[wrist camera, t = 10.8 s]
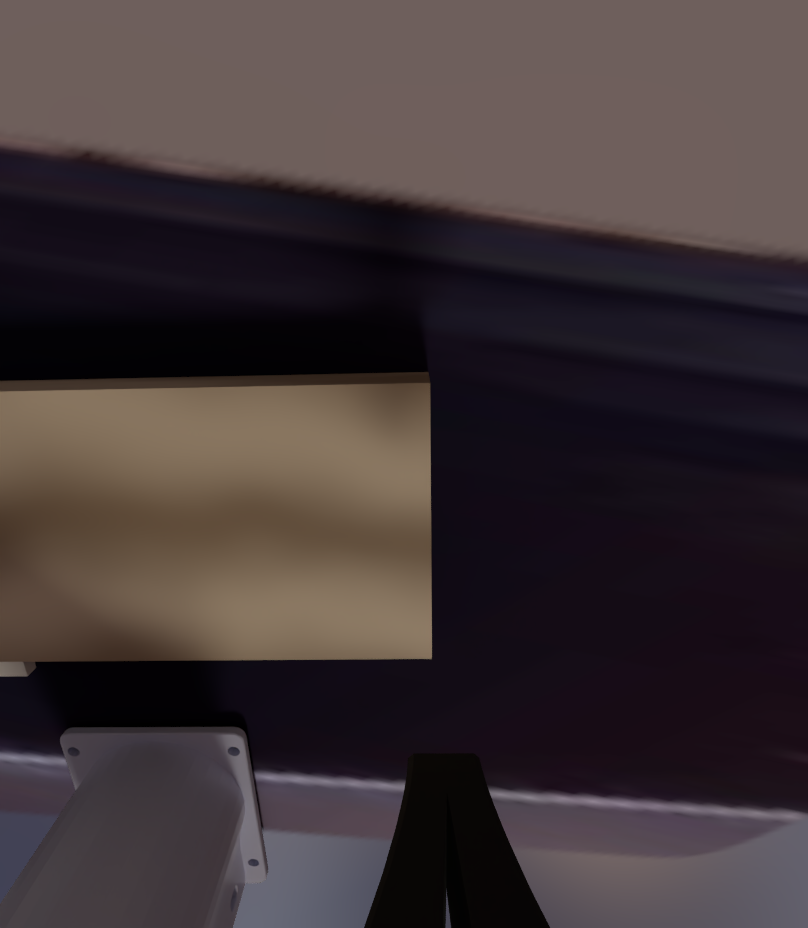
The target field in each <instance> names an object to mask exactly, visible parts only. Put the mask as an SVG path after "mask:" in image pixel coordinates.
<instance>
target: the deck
mask: <svg viewBox="0 0 808 928" xmlns="http://www.w3.org/2000/svg"><path fill="white" fill-rule="evenodd" d="M323 659H432V601H431V445H430V379H429V374H428V372H407V373H359V374H310V375H262V376H214V377H165V378H117V379H69V380H21V381H0V662H49V661H186V660H323Z"/></svg>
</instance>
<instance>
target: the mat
mask: <svg viewBox="0 0 808 928" xmlns="http://www.w3.org/2000/svg"><path fill="white" fill-rule="evenodd" d="M35 668H36V665H35V662H0V676H29V675H30V673H31V672H32V671H33V670H34V669H35Z"/></svg>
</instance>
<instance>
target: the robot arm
mask: <svg viewBox="0 0 808 928" xmlns="http://www.w3.org/2000/svg"><path fill="white" fill-rule="evenodd" d="M60 743H61V746H62V749H63V752H64V755H65V759H66V762H67V765H68V768H69V771H70V774H71V777H72V780H73V783H74V786H75V789H76V791H75V793H74V794H73V796H72V797H71V799H70V800H69V802H68V803H67V805H66V806H65V808H64V809H63V811H62V812H61V814H60V815H59V817H58V818H57V820H56V821H55V823H54V824H53V826H52V827H51V829H50V830H49V832H48V833H47V835H46V836H45V838H44V839H43V841H42V842H41V844H40V845H39V847H38V848H37V850H36V851H35V853H34V854H33V856H32V857H31V859H30V860H29V862H28V863H27V865H26V866H25V868H24V869H23V871H22V872H21V874H20V875H19V877H18V878H17V880H16V881H15V883H14V884H13V886H12V887H11V889H10V890H9V892H8V893H7V895H6V896H5V898H4V899H3V901H2V902H1V904H0V928H233V925H234V921H235V918H236V914H237V910H238V907H239V903H240V900H241V896H242V892H243V889H244V885H245V883H261V882H263V881H264V880H265V879H266V877H267V873H268V864H267V858H266V852H265V846H264V840H263V834H262V828H261V822H260V816H259V810H258V804H257V798H256V791H255V785H254V779H253V773H252V767H251V761H250V755H249V749H248V743H247V737H246V734H245V732H244V731H243V730H242V729H240V728H238V727H74V728H69V729H67V730H66V731H65V732H64V733H63V735H62V736H61V738H60ZM234 747H236V748H234ZM446 889H447V897H448V905H449V913H450V922H451V928H550V927H549V925H548V923H547V921H546V919H545V917H544V915H543V913H542V911H541V909H540V907H539V905H538V903H537V901H536V899H535V897H534V895H533V893H532V891H531V889H530V887H529V885H528V883H527V880H526V878H525V876H524V874H523V872H522V870H521V867H520V865H519V863H518V861H517V859H516V856H515V854H514V852H513V850H512V847H511V845H510V843H509V841H508V838H507V836H506V834H505V831H504V829H503V826H502V824H501V821H500V819H499V816H498V814H497V811H496V809H495V806H494V804H493V801H492V798H491V795H490V793H489V790H488V787H487V784H486V781H485V778H484V774H483V771H482V768H481V764H480V760H479V758H478V757H477V756H476V755H475V754H413V755H412V756H410V757H409V758H408V769H407V777H406V784H405V790H404V795H403V800H402V804H401V809H400V813H399V817H398V821H397V825H396V829H395V833H394V836H393V840H392V843H391V847H390V850H389V854H388V857H387V861H386V864H385V868H384V871H383V874H382V877H381V880H380V883H379V886H378V889H377V892H376V895H375V898H374V901H373V903H372V906H371V909H370V912H369V915H368V918H367V921H366V924H365V927H364V928H445V923H446Z"/></svg>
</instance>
